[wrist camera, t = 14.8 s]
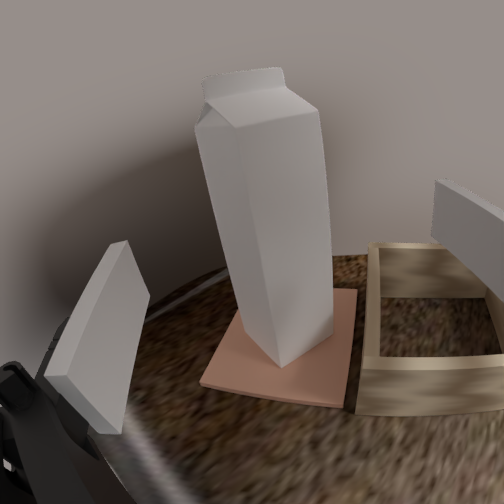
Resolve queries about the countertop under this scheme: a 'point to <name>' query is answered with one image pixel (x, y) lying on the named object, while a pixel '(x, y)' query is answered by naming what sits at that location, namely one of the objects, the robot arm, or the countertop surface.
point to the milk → (270, 207)
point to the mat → (295, 373)
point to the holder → (425, 368)
